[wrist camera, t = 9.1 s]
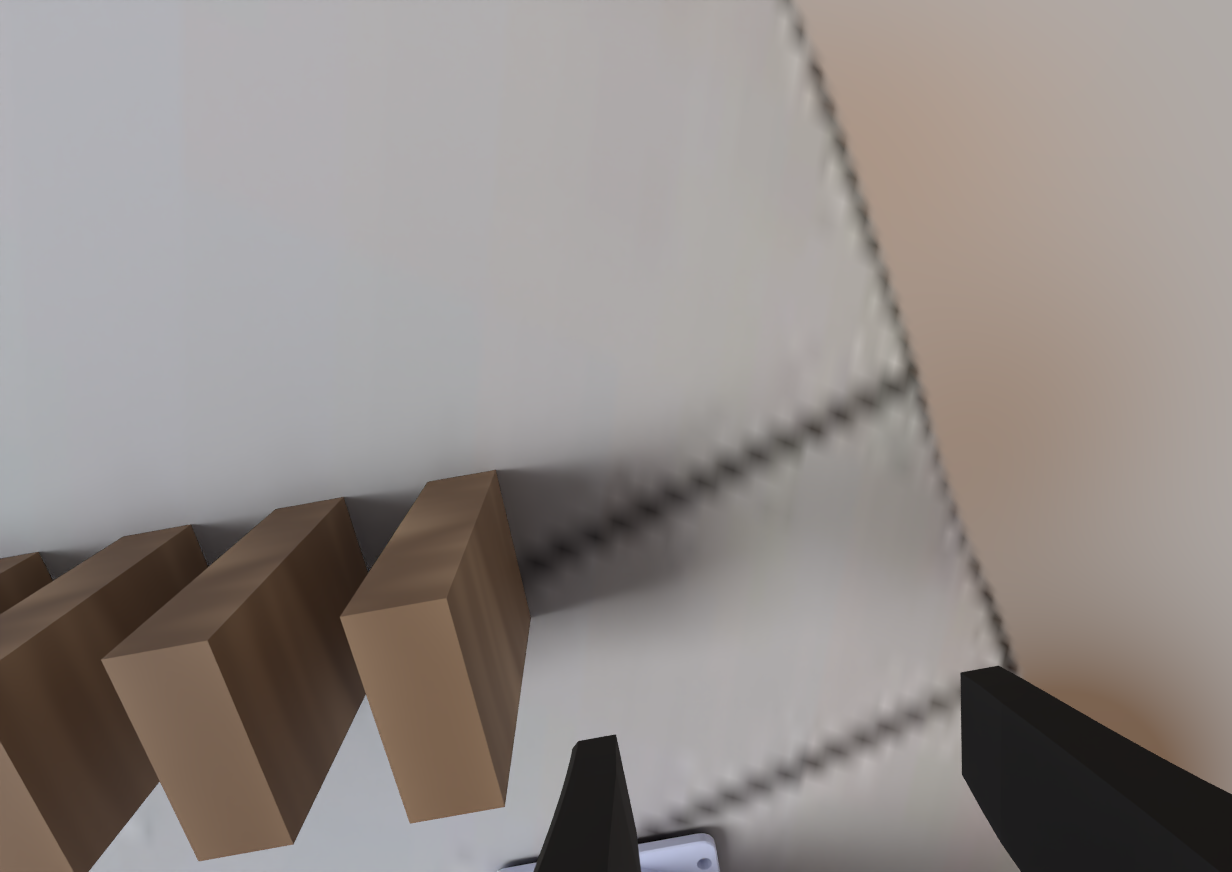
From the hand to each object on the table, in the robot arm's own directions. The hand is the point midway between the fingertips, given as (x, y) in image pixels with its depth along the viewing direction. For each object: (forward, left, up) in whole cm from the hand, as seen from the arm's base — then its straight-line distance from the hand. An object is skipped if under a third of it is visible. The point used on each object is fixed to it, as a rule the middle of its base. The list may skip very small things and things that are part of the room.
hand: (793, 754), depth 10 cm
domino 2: (0, +11, -10) cm, 15 cm away
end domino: (0, +7, -10) cm, 12 cm away
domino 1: (0, +16, -9) cm, 18 cm away
